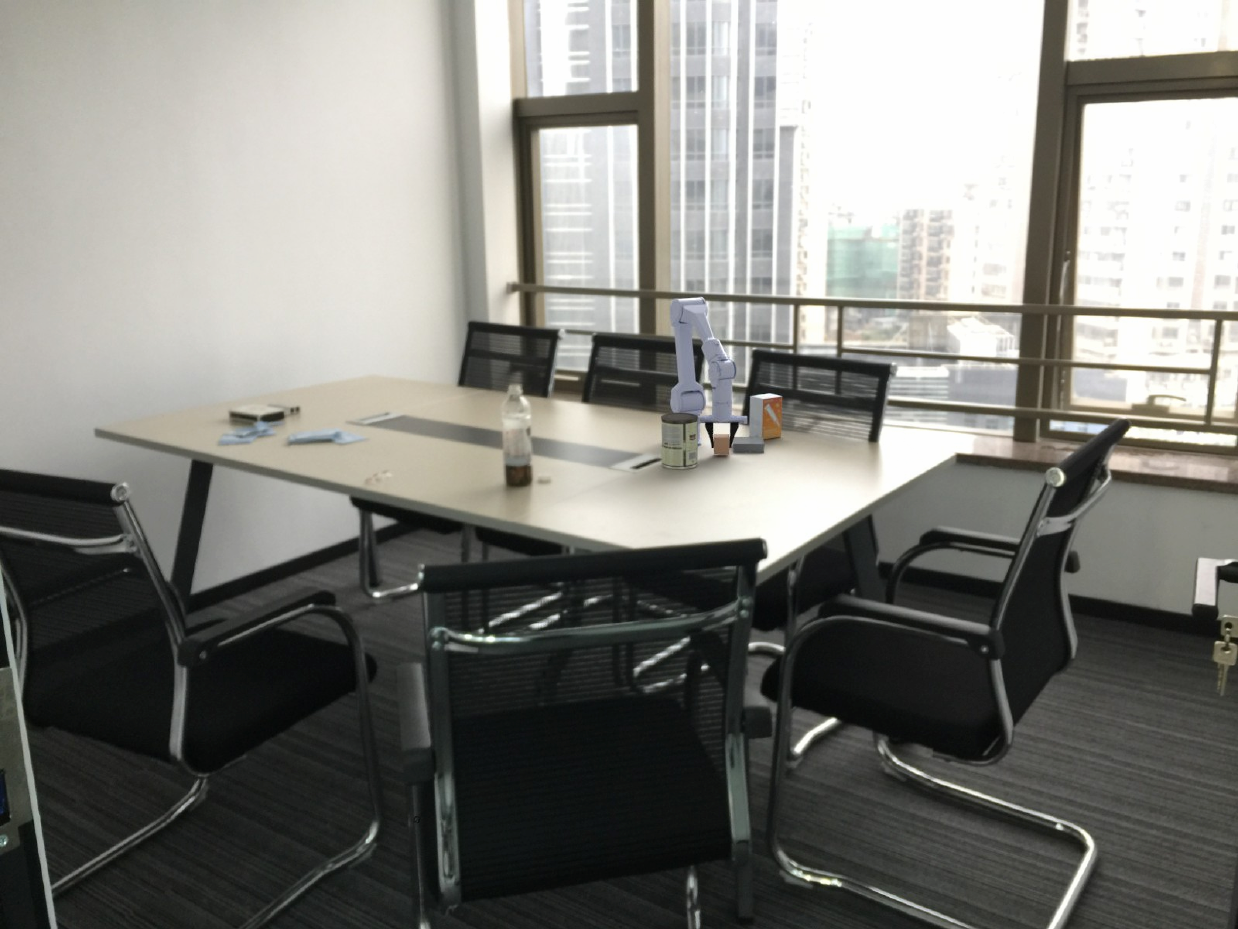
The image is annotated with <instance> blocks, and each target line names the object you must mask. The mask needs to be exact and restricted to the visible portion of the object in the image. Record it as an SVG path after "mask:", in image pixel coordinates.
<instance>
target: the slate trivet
mask: <svg viewBox="0 0 1238 929" xmlns="http://www.w3.org/2000/svg"><path fill="white" fill-rule="evenodd" d="M732 453H765V442H764V439H763V437H750V436H735V437H734V439H733V443H732Z"/></svg>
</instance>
